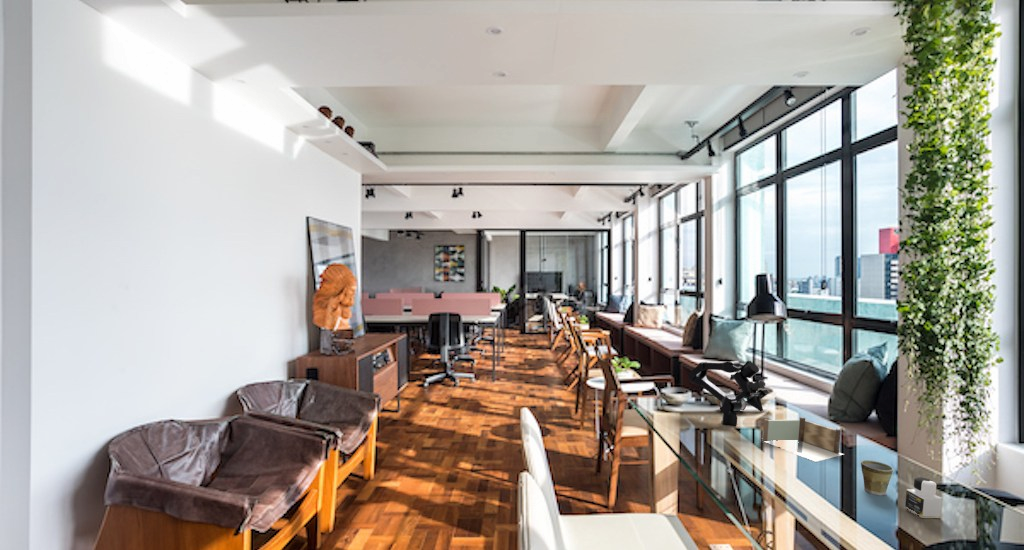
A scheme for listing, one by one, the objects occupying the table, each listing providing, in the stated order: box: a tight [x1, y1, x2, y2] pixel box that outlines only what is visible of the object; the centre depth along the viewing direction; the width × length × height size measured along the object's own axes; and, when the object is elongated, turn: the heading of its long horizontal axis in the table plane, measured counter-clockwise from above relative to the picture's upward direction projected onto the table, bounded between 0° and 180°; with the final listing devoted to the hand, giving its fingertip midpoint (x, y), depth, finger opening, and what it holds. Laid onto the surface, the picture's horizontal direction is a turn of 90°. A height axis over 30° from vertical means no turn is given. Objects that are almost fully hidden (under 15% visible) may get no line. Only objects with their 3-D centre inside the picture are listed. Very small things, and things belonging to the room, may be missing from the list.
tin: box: [717, 398, 747, 411], centre depth 298 cm, size 15×3×8 cm, turn 84°
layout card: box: [792, 440, 845, 463], centre depth 243 cm, size 28×22×1 cm
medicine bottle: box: [904, 476, 943, 517], centre depth 182 cm, size 7×7×12 cm
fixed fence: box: [798, 416, 842, 454], centre depth 244 cm, size 19×2×11 cm, turn 30°
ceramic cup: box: [860, 459, 894, 496], centre depth 200 cm, size 13×10×10 cm
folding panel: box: [762, 419, 800, 441], centre depth 249 cm, size 18×2×10 cm, turn 101°
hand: (762, 411), depth 256 cm, fingers closed
